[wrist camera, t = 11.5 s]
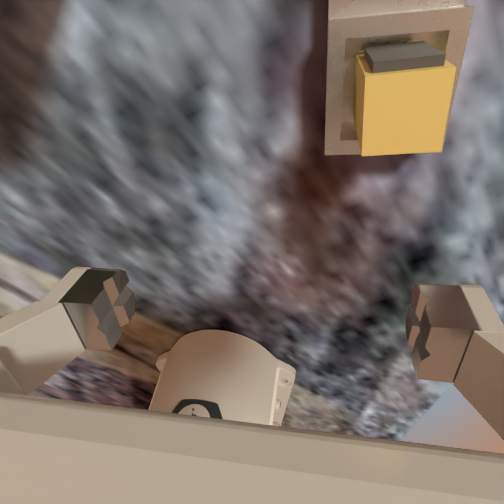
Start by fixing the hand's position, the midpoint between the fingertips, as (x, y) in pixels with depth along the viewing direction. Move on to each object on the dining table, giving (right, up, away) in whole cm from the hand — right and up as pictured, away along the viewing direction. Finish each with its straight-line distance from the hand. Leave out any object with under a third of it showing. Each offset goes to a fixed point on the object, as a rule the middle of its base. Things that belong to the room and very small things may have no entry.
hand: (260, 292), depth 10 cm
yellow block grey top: (+9, +12, +13) cm, 20 cm away
